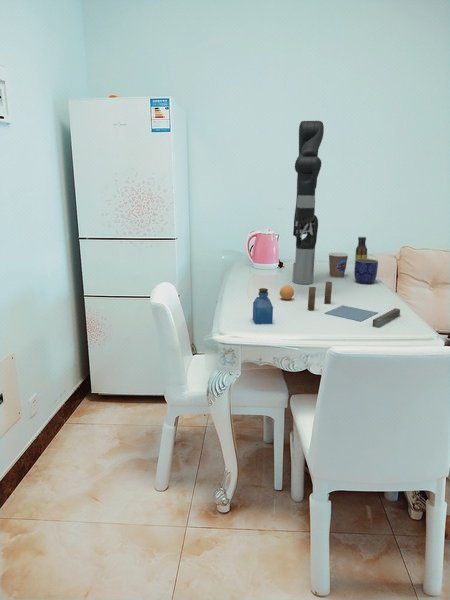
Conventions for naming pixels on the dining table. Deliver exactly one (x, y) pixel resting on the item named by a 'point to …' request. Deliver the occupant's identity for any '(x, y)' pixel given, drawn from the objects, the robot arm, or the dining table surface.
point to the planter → (365, 270)
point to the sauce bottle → (361, 249)
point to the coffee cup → (337, 264)
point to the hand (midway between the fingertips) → (303, 245)
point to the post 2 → (328, 293)
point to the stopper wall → (386, 317)
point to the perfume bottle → (262, 308)
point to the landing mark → (351, 313)
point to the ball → (286, 292)
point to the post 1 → (311, 298)
